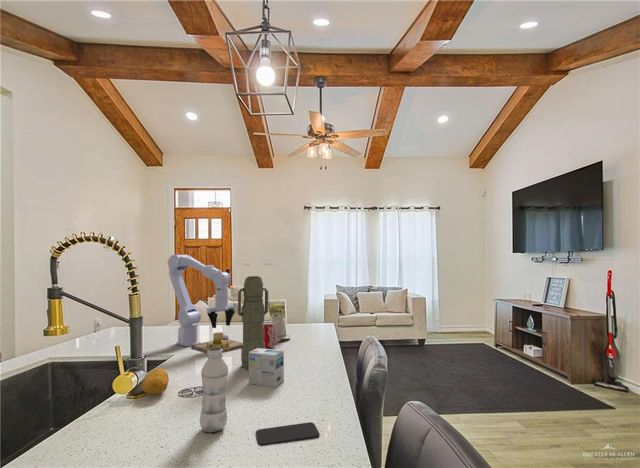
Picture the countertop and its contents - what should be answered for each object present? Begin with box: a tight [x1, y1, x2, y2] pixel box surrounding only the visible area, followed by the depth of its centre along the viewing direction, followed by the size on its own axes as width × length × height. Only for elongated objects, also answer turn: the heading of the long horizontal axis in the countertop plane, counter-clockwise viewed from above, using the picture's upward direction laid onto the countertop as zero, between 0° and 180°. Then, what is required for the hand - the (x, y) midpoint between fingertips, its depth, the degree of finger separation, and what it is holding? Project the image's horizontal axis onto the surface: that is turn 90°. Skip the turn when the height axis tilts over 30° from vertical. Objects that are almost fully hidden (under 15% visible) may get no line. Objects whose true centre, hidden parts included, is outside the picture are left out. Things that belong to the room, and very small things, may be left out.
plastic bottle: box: [199, 348, 229, 433], centre depth 93 cm, size 6×7×20 cm
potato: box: [141, 367, 170, 396], centre depth 117 cm, size 8×14×7 cm, turn 22°
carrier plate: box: [191, 334, 243, 354], centre depth 172 cm, size 18×18×4 cm
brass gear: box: [206, 331, 229, 349], centre depth 169 cm, size 10×10×6 cm
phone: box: [255, 421, 321, 447], centre depth 90 cm, size 7×1×15 cm
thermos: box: [237, 275, 269, 370], centre depth 145 cm, size 9×12×35 cm
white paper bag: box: [268, 302, 291, 344], centre depth 187 cm, size 12×13×18 cm
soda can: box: [263, 321, 276, 350], centre depth 169 cm, size 7×7×12 cm
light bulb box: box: [247, 348, 285, 388], centre depth 126 cm, size 11×7×11 cm, turn 71°
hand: (221, 326), depth 174 cm, fingers open, 7 cm apart
